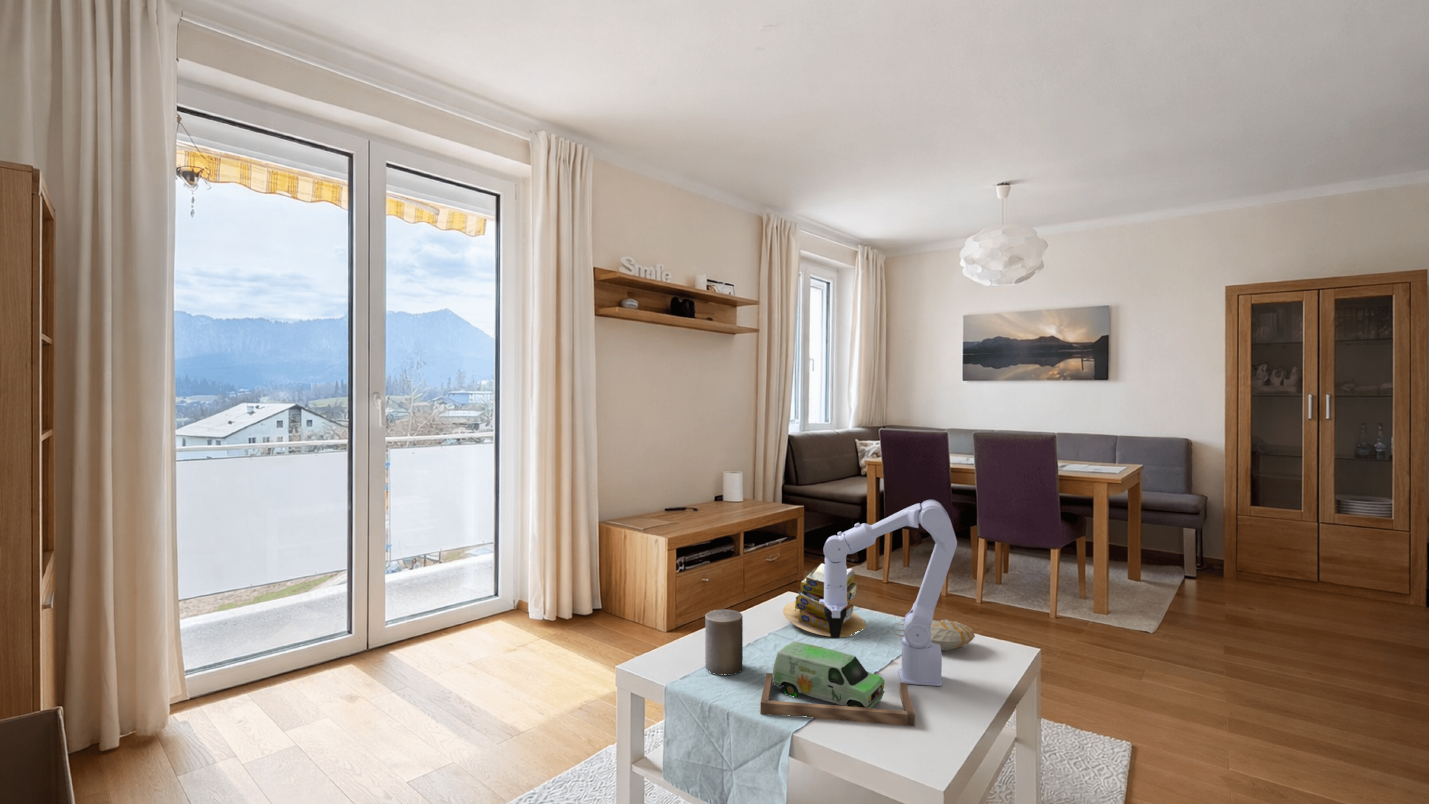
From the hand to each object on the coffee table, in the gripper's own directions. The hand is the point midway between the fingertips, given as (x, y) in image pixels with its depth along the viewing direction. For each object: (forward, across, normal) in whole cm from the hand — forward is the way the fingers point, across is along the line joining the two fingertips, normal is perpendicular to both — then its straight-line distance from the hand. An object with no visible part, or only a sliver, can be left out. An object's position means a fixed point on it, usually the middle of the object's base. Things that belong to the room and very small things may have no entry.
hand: (835, 636), depth 178 cm
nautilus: (+9, -21, +28) cm, 36 cm away
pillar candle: (+8, +4, -28) cm, 30 cm away
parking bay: (+8, +19, 0) cm, 21 cm away
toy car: (+9, +16, -2) cm, 18 cm away
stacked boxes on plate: (+9, -34, -2) cm, 35 cm away
